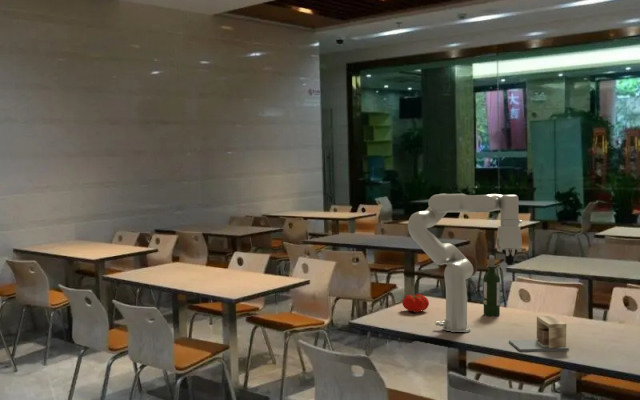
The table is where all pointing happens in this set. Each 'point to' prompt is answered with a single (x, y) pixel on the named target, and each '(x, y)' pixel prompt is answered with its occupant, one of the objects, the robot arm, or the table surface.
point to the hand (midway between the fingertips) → (509, 264)
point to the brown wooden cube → (543, 336)
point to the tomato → (415, 302)
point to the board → (533, 346)
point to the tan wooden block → (553, 330)
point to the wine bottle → (491, 291)
